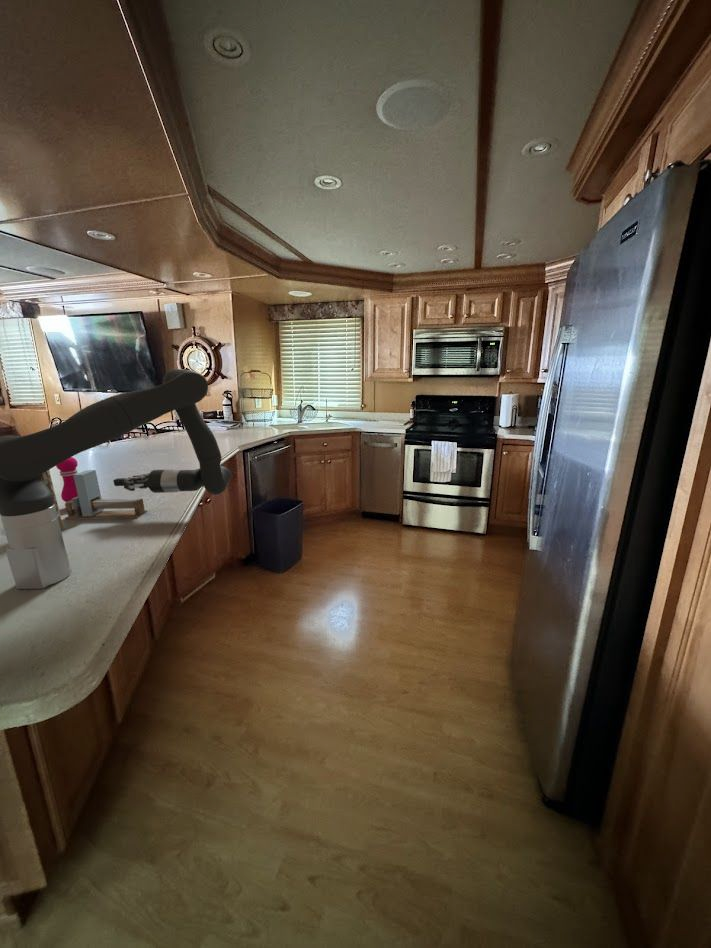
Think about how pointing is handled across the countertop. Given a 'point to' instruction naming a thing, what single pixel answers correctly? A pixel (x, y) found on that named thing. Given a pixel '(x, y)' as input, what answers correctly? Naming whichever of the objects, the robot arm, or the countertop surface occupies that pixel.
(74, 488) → the pepper mill
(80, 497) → the light blue block
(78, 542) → the countertop surface
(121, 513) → the rail
